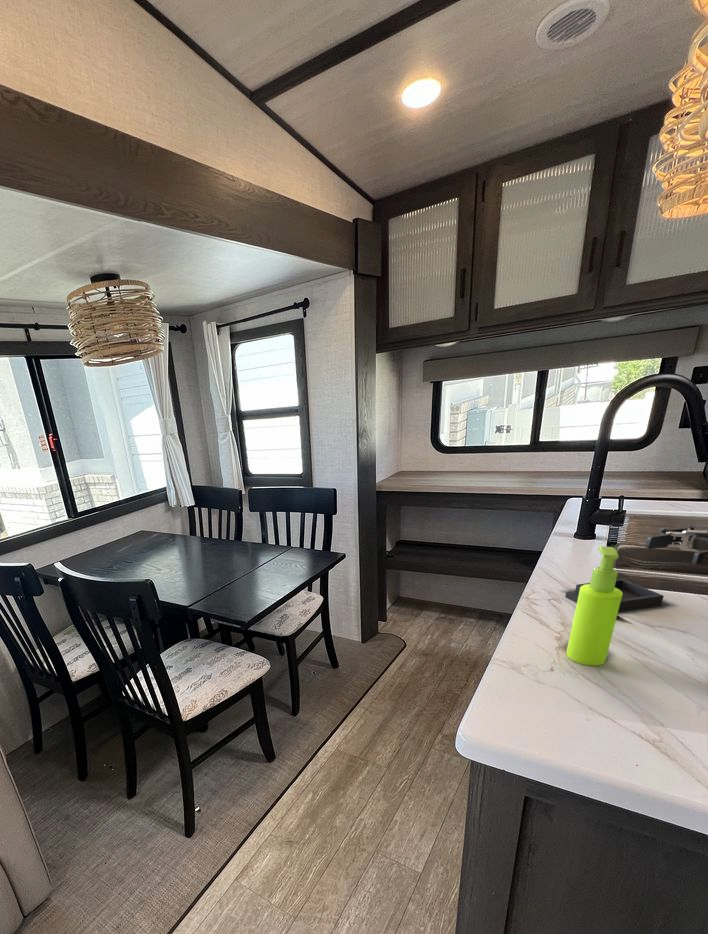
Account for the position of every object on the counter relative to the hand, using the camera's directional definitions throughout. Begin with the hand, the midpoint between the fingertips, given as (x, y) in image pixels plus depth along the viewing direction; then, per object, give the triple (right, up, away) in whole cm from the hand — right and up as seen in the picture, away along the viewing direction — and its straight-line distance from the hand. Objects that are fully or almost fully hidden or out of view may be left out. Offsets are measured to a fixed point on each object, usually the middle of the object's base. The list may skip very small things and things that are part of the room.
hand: (670, 550), depth 78 cm
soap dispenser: (-10, -19, +6) cm, 22 cm away
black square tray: (+9, -9, +24) cm, 27 cm away
